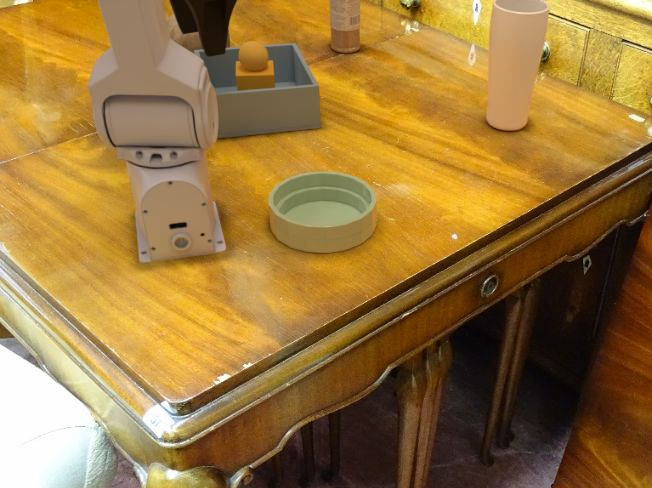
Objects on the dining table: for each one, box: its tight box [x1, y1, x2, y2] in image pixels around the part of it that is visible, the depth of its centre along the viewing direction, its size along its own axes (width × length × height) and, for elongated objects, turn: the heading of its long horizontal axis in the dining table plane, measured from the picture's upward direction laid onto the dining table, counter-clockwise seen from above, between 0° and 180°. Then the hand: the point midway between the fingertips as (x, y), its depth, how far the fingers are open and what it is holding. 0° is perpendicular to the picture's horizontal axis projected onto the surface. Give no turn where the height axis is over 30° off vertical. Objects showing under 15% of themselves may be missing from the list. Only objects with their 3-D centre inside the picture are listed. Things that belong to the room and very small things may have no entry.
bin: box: [194, 42, 322, 140], centre depth 97 cm, size 14×13×6 cm
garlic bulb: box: [166, 12, 231, 53], centre depth 105 cm, size 9×8×10 cm
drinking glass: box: [485, 0, 550, 132], centre depth 95 cm, size 7×7×15 cm
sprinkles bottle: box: [329, 0, 362, 54], centre depth 112 cm, size 5×5×13 cm
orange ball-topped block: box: [236, 40, 275, 91], centre depth 96 cm, size 5×5×8 cm
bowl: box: [267, 170, 378, 254], centre depth 78 cm, size 11×11×4 cm
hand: (202, 42), depth 88 cm, fingers open, 7 cm apart
